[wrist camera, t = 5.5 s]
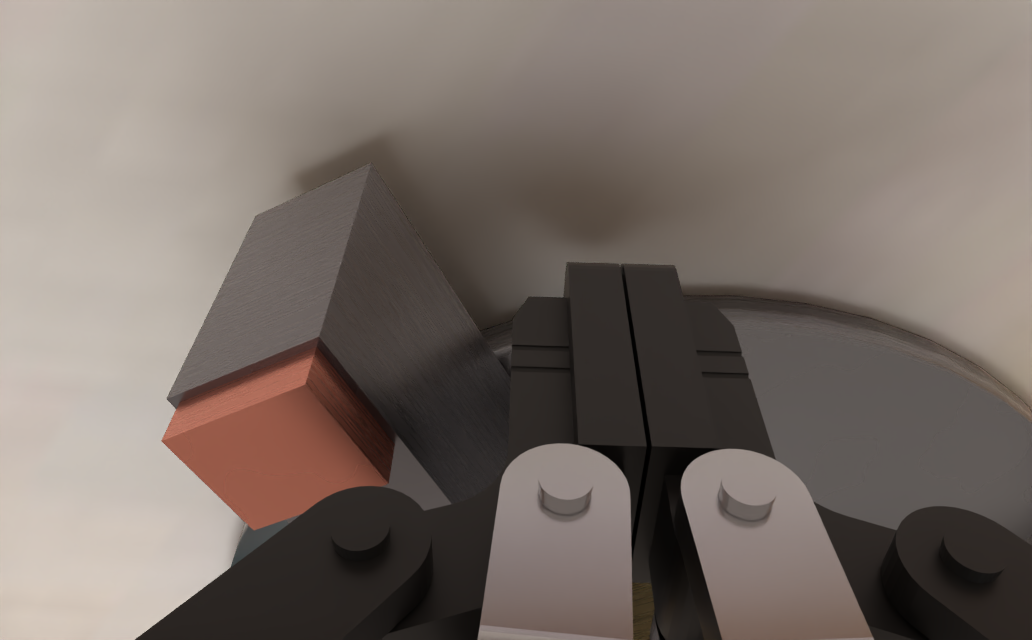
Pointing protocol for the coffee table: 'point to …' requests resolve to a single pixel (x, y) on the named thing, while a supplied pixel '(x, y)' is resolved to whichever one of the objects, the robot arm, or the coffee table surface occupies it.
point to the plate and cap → (864, 416)
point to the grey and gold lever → (342, 369)
